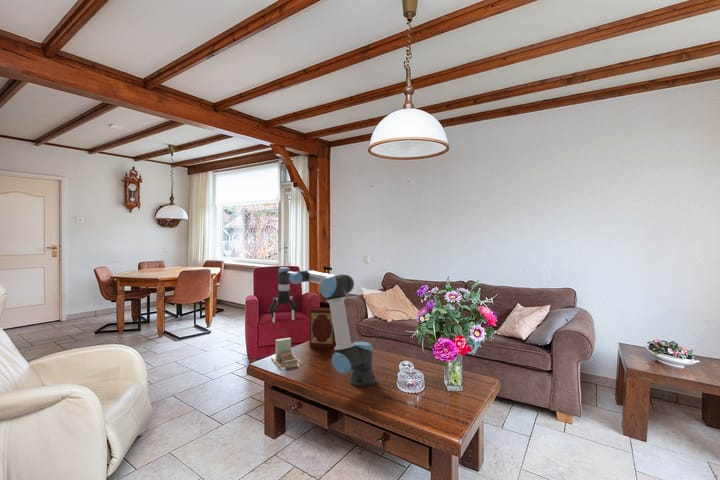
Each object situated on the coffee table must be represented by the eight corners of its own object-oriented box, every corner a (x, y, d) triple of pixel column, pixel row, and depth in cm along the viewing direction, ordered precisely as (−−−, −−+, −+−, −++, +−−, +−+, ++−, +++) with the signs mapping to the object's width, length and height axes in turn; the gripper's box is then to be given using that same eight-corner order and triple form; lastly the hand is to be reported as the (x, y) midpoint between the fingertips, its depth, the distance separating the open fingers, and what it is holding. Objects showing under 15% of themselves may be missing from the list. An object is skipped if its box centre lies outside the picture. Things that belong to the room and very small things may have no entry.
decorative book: (339, 345, 268) (339, 307, 268) (338, 348, 260) (338, 309, 260) (312, 344, 271) (312, 306, 270) (309, 347, 263) (309, 309, 262)
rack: (271, 361, 234) (271, 351, 233) (291, 357, 241) (291, 347, 241) (280, 371, 216) (280, 360, 216) (302, 366, 224) (302, 356, 224)
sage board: (291, 358, 235) (291, 338, 235) (276, 361, 230) (276, 341, 230) (289, 357, 238) (289, 337, 238) (275, 359, 233) (275, 339, 233)
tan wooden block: (292, 362, 229) (292, 357, 229) (282, 364, 225) (282, 359, 225) (290, 360, 233) (290, 355, 233) (280, 362, 229) (280, 357, 229)
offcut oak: (292, 357, 229) (292, 352, 229) (282, 359, 225) (282, 354, 225) (289, 355, 233) (289, 350, 233) (280, 357, 229) (280, 352, 229)
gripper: (299, 287, 240) (298, 317, 241) (264, 290, 227) (263, 321, 228) (303, 289, 234) (302, 320, 234) (267, 292, 221) (266, 324, 221)
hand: (283, 320), depth 231 cm, fingers open, 13 cm apart
